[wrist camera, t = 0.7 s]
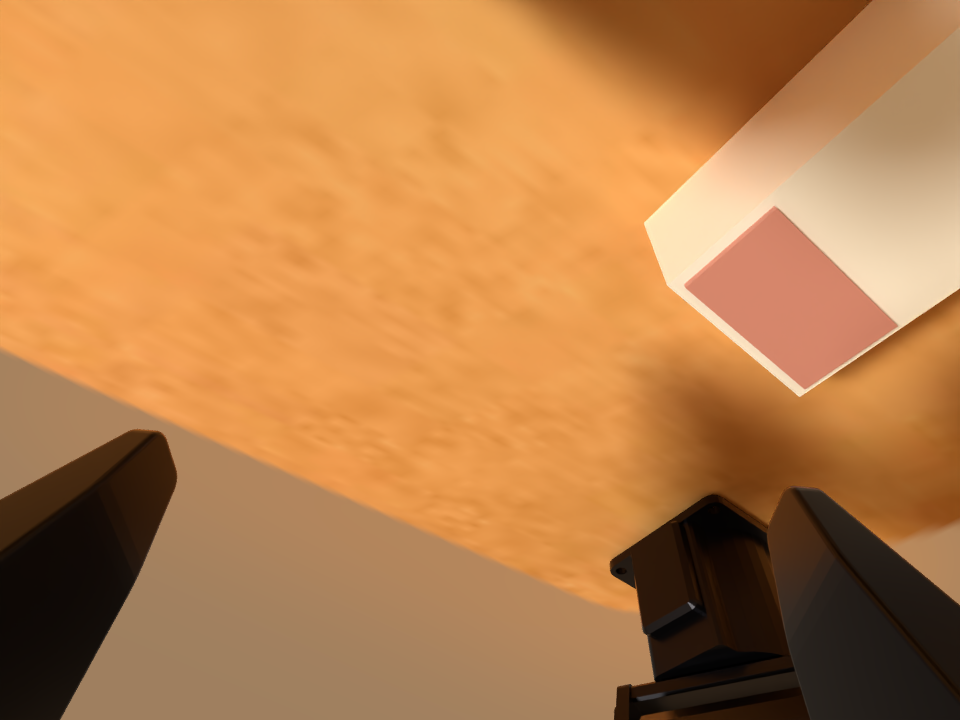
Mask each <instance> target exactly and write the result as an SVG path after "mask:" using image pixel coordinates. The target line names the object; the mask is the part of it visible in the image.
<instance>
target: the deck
mask: <svg viewBox="0 0 960 720" xmlns="http://www.w3.org/2000/svg"><path fill="white" fill-rule="evenodd" d="M644 225H645V228H646V231H647V233H648V236H649V238H650V241H651V244H652V246H653V249H654V252H655V254H656V257H657V260H658V262H659V265H660V268H661V270H662V273H663V276H664V278H665V281H666V283H667V286H668V287H670V288H671V289H672V290H673V291H674V292H676V293H677V294H678V295H679V296H680V297H681V298H683V299H684V300H685V301H686V302H687V303H689V304H690V305H691V306H692V307H693V308H694V309H696V310H697V311H698V312H699V313H700V314H702V315H703V316H704V317H705V318H706V319H708V320H709V321H710V322H711V323H712V324H713V325H715V326H716V327H717V328H718V329H719V330H721V331H722V332H723V333H724V334H725V335H727V336H728V337H729V338H730V339H731V340H732V341H734V342H735V343H736V344H737V345H738V346H740V347H741V348H742V349H743V350H744V351H746V352H747V353H748V354H749V355H750V356H751V357H753V358H754V359H755V360H756V361H757V362H759V363H760V364H761V365H762V366H763V367H765V368H766V369H767V370H768V371H769V372H770V373H772V374H773V375H774V376H775V377H776V378H778V379H779V380H780V381H781V382H782V383H784V384H785V385H786V386H787V387H788V388H789V389H791V390H792V391H793V392H794V393H795V394H797V395H798V396H799V397H801V396H802V395H804V394H805V393H807V392H808V391H809V390H811V389H812V388H814V387H815V386H817V385H818V384H820V383H821V382H823V381H824V380H826V379H827V378H829V377H830V376H832V375H833V374H835V373H836V372H837V371H839V370H840V369H842V368H843V367H845V366H846V365H848V364H849V363H851V362H852V361H854V360H855V359H857V358H858V357H860V356H861V355H863V354H864V353H865V352H867V351H868V350H870V349H871V348H873V347H874V346H876V345H877V344H879V343H880V342H882V341H883V340H885V339H886V338H888V337H889V336H890V335H892V334H893V333H895V332H896V331H898V330H899V329H901V328H902V327H904V326H905V325H907V324H908V323H910V322H911V321H913V320H914V319H916V318H917V317H918V316H920V315H921V314H923V313H924V312H926V311H927V310H929V309H930V308H932V307H933V306H935V305H936V304H938V303H939V302H941V301H942V300H944V299H945V298H946V297H948V296H949V295H951V294H952V293H954V292H955V291H957V290H958V289H960V0H872V1H871V2H870V3H869V4H868V5H867V6H866V7H865V8H864V9H863V10H862V11H861V12H860V13H859V14H858V15H857V16H856V17H855V18H854V19H853V20H852V21H851V22H850V23H849V24H848V25H847V26H846V27H845V28H844V29H843V30H842V31H841V32H840V33H839V34H837V35H836V36H835V37H834V38H833V39H832V40H831V41H830V42H829V43H828V44H827V45H826V46H825V47H824V48H823V49H822V50H821V51H820V52H819V53H818V54H817V55H816V56H815V57H814V58H813V59H812V60H811V61H810V62H809V63H808V64H807V65H806V66H805V67H804V68H803V69H802V70H800V71H799V72H798V73H797V74H796V75H795V76H794V77H793V78H792V79H791V80H790V81H789V82H788V83H787V84H786V85H785V86H784V87H783V88H782V89H781V90H780V91H779V92H778V93H777V94H776V95H775V96H774V97H773V98H772V99H771V100H770V101H769V102H768V103H767V104H766V105H765V106H764V107H762V108H761V109H760V110H759V111H758V112H757V113H756V114H755V115H754V116H753V117H752V118H751V119H750V120H749V121H748V122H747V123H746V124H745V125H744V126H743V127H742V128H741V129H740V130H739V131H738V132H737V133H736V134H735V135H734V136H733V137H732V138H731V139H730V140H729V141H728V142H727V143H726V144H724V145H723V146H722V147H721V148H720V149H719V150H718V151H717V152H716V153H715V154H714V155H713V156H712V157H711V158H710V159H709V160H708V161H707V162H706V163H705V164H704V165H703V166H702V167H701V168H700V169H699V170H698V171H697V172H696V173H695V174H694V175H693V176H692V177H691V178H690V179H689V180H688V181H686V182H685V183H684V184H683V185H682V186H681V187H680V188H679V189H678V190H677V191H676V192H675V193H674V194H673V195H672V196H671V197H670V198H669V199H668V200H667V201H666V202H665V203H664V204H663V205H662V206H661V207H660V208H659V209H658V210H657V211H656V212H655V213H654V214H653V215H652V216H651V217H650V218H648V219H647V220H646V221H645V222H644Z"/></svg>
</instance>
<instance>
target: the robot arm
mask: <svg viewBox="0 0 960 720" xmlns="http://www.w3.org/2000/svg"><path fill="white" fill-rule="evenodd" d="M176 482H177V471H176V467H175V464H174V461H173V458H172V455H171V452H170V449H169V445H168V442H167V439H166V437H165V436H164V435H163V434H162V433H161V432H159V431H153V430H141V429H134V430H130V431H128V432H126V433H124V434H122V435H120V436H119V437H117V438H115V439H113V440H111V441H109V442H107V443H106V444H104V445H102V446H100V447H98V448H96V449H94V450H92V451H91V452H89V453H87V454H85V455H83V456H81V457H79V458H78V459H76V460H74V461H72V462H70V463H68V464H66V465H64V466H63V467H61V468H59V469H57V470H55V471H53V472H51V473H49V474H47V475H46V476H44V477H42V478H40V479H38V480H36V481H34V482H33V483H31V484H29V485H27V486H25V487H23V488H21V489H19V490H17V491H16V492H14V493H12V494H10V495H8V496H6V497H4V498H3V499H1V500H0V720H60V719H61V717H62V715H63V714H64V712H65V710H66V708H67V706H68V704H69V703H70V701H71V699H72V697H73V695H74V693H75V692H76V690H77V688H78V686H79V684H80V682H81V681H82V679H83V677H84V675H85V673H86V672H87V670H88V668H89V666H90V664H91V662H92V661H93V659H94V657H95V655H96V653H97V651H98V649H99V648H100V646H101V644H102V642H103V640H104V639H105V637H106V635H107V633H108V631H109V630H110V628H111V626H112V624H113V622H114V620H115V619H116V617H117V615H118V613H119V611H120V609H121V608H122V606H123V604H124V602H125V600H126V598H127V597H128V595H129V593H130V591H131V589H132V587H133V585H134V583H135V581H136V579H137V577H138V575H139V573H140V570H141V568H142V566H143V564H144V561H145V559H146V556H147V554H148V552H149V549H150V547H151V544H152V542H153V540H154V537H155V535H156V533H157V530H158V528H159V525H160V523H161V520H162V518H163V516H164V513H165V511H166V509H167V506H168V504H169V501H170V499H171V496H172V494H173V492H174V489H175V487H176ZM713 506H715V507H713ZM610 572H611V574H612V575H613V576H615V577H616V578H618V579H620V580H621V581H623V582H625V583H627V584H628V585H630V586H632V587H633V588H635V589H636V591H637V597H638V604H639V610H640V616H641V623H642V630H643V632H644V633H645V634H646V635H647V637H648V643H649V650H650V656H651V662H652V668H653V675H654V680H655V682H651V683H646V684H641V685H636V686H632V685H631V684H628V685H623V686H619V687H617V699H616V707H615V710H614V720H960V605H959V604H958V603H956V602H955V601H954V600H953V599H952V598H950V597H949V596H948V595H947V594H946V593H944V592H943V591H942V590H941V589H940V588H938V587H937V586H936V585H934V583H932V582H931V581H930V580H929V579H928V578H926V577H925V576H924V575H923V574H922V573H920V572H919V571H918V570H917V569H915V568H914V567H913V566H912V565H911V564H909V563H908V562H907V561H906V560H905V559H904V558H902V557H901V556H900V555H899V554H898V553H896V552H895V551H894V550H893V549H892V548H890V547H889V546H888V545H887V544H886V543H884V542H883V541H882V540H881V539H880V538H878V537H877V536H876V535H875V534H874V533H872V532H871V531H870V530H869V529H868V528H866V527H865V526H864V525H863V524H862V523H860V522H859V521H858V520H857V519H856V518H854V517H853V516H852V515H851V514H850V513H848V512H847V511H846V510H845V509H844V508H842V507H841V506H840V505H839V504H838V503H836V502H835V501H834V500H833V499H832V498H830V497H829V496H828V495H827V494H826V493H824V492H823V491H821V490H820V489H817V488H811V487H799V486H790V487H788V488H786V489H785V490H784V492H783V494H782V496H781V498H780V500H779V503H778V505H777V507H776V509H775V512H774V514H773V516H772V519H771V521H770V523H769V526H768V529H767V528H766V527H764V526H763V525H762V524H760V523H759V522H757V521H756V520H754V519H753V518H751V517H750V516H748V515H747V514H745V513H744V512H742V511H741V510H739V509H738V508H737V507H735V506H734V505H732V504H731V503H729V502H728V501H726V500H725V499H723V498H722V497H720V496H718V495H710V496H707V497H704V498H703V499H701V500H700V501H698V502H697V503H695V504H694V505H692V506H691V507H689V508H688V509H686V510H685V511H683V512H682V513H681V514H679V515H678V516H676V517H675V518H673V519H672V520H670V521H669V522H667V523H666V524H664V525H663V526H661V527H660V528H658V529H657V530H655V531H654V532H652V533H651V534H649V535H648V536H646V537H645V538H643V539H642V540H640V541H639V542H637V543H636V544H634V545H633V546H631V547H630V548H629V549H627V550H626V551H624V552H623V553H621V554H620V555H618V556H617V557H615V558H614V559H612V560H611V561H610Z"/></svg>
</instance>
